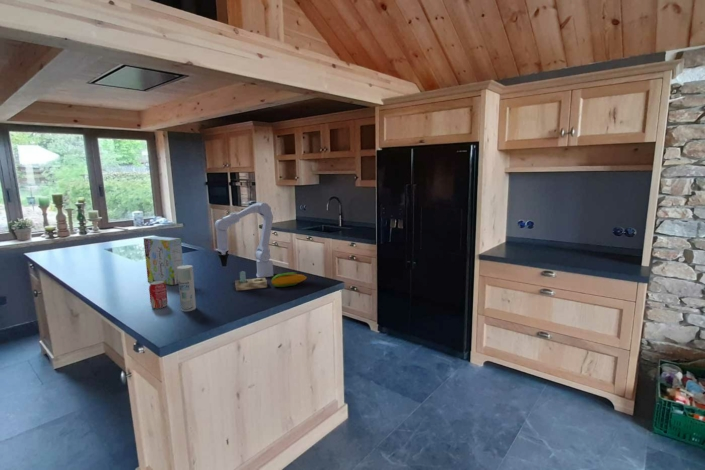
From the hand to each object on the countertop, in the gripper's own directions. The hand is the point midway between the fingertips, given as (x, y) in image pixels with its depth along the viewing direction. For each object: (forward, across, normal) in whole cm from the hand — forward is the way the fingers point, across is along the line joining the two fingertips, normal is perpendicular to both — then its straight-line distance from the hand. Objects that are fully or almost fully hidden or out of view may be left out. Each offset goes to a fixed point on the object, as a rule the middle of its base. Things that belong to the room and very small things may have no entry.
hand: (224, 264), depth 211 cm
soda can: (+11, +30, -30) cm, 44 cm away
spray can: (+11, +38, -17) cm, 43 cm away
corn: (+11, +19, +33) cm, 40 cm away
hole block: (+10, +15, +13) cm, 22 cm away
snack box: (+11, -14, -32) cm, 37 cm away
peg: (+10, +15, +9) cm, 20 cm away
